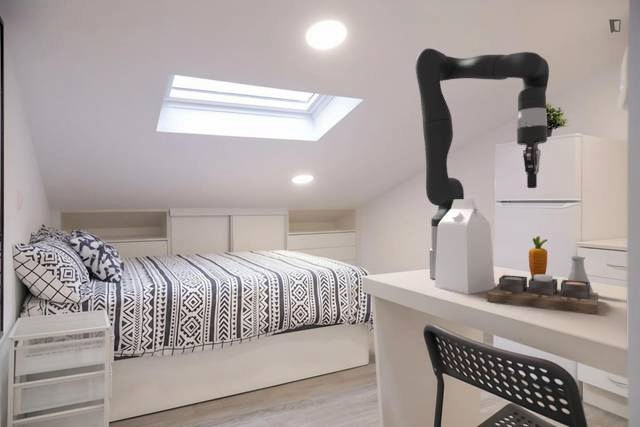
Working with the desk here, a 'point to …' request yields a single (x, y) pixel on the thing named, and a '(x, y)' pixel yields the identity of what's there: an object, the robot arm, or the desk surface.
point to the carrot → (538, 258)
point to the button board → (545, 294)
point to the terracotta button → (575, 283)
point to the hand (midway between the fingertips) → (532, 187)
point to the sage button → (513, 278)
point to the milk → (464, 250)
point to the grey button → (543, 278)
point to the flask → (578, 270)
